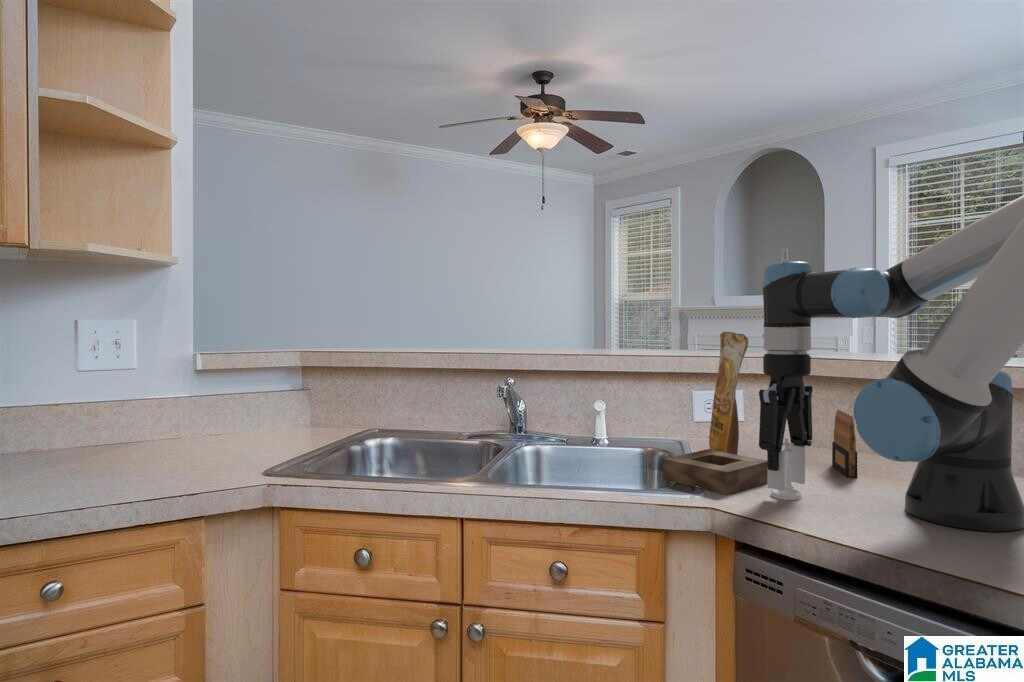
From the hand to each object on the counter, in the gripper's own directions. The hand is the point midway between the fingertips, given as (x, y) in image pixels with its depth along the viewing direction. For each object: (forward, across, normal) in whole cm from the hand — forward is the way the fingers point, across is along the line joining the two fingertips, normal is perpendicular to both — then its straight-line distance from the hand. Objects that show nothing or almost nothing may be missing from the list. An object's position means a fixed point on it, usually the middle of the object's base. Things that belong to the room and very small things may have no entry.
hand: (786, 485), depth 109 cm
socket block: (+2, 0, -14) cm, 14 cm away
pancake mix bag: (+2, -23, -27) cm, 36 cm away
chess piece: (+2, 0, 0) cm, 2 cm away
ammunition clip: (+2, -26, -2) cm, 26 cm away
